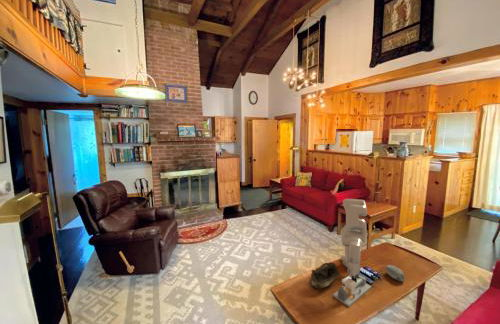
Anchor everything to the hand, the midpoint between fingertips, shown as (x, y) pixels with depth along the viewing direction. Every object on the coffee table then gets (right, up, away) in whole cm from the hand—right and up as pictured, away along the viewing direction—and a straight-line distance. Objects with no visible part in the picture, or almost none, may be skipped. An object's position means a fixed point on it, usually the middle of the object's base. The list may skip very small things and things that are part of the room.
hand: (353, 282), depth 149 cm
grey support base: (-1, -8, 0) cm, 7 cm away
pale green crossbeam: (-1, -4, 0) cm, 4 cm away
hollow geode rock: (-18, -7, +10) cm, 22 cm away
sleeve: (-4, -6, -2) cm, 7 cm away
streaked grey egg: (+40, -5, +14) cm, 43 cm away
